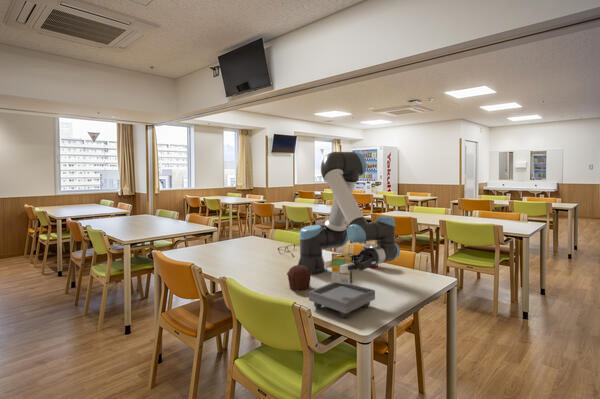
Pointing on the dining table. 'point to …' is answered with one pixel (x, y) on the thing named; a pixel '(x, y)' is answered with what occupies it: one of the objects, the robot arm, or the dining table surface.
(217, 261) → the dining table surface
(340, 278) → the crayon box
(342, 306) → the grey footed tray
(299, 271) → the muffin
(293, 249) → the eyeglasses
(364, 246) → the plastic cup
